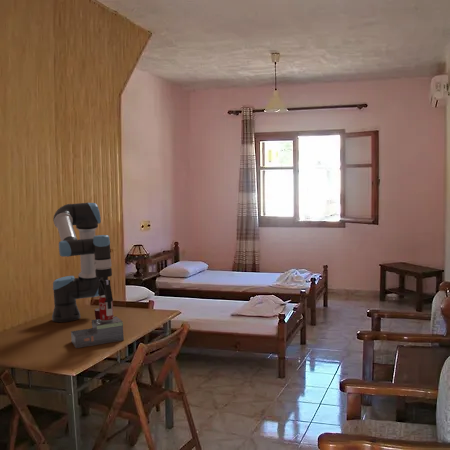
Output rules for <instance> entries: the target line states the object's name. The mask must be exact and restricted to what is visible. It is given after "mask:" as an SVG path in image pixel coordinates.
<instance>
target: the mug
mask: <svg viewBox="0 0 450 450" xmlns="http://www.w3.org/2000/svg"><path fill="white" fill-rule="evenodd" d="M94 316H95V317H94V319H100V311H99V307H98V308H95V309H94Z"/></svg>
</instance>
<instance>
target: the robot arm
mask: <svg viewBox="0 0 450 450" xmlns="http://www.w3.org/2000/svg"><path fill="white" fill-rule="evenodd" d="M52 221H53V224H54V227H56V228H57V232H58V234H59V238H60V241H58V252H59V257H67V258H68V257H73V256H75V257H77V256H79V257H80V259H79V260H80V272H79V273H78V277H75V275H66V276H62V277H59V278H57V279H55V280H53V283H52V291H53V302H54V303H53V305H54V308H53V311H52V317H51V320H52V322H55V323H69V322H73V321H77V320H79V319H81V312H80V310H79V308H78V305H77V300H81V299H88V298H97V297H99V298H100V296H101V295H105V298H106V300H105V302H106V315H107V316H111V315H113V316H114V311H113V312H112V301H113V302H114V298H113V293H112V292H113V291H112V287H111V280H110V279H109V278H110V277H112V275H113V269H112V268H111V267H113V266H112V258H111V256H112V255H111V241H110V235H108V234H98V235H97V234H96V230H97V229H98V227H99V224H101V222H102V220H101V213H100V209H99V206H98V204H97V203H96V202H80V203H79V202H78V203H66V204H64V205H62V206H60V207H59V208H58V209H57V210H56V211H55V212H54V215H53V220H52ZM74 226H75V228H76V229H77V230H78V232H79V233H78V235H79V239H78V237H77V234H76V231H75V229H74Z"/></svg>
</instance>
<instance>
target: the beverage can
mask: <svg viewBox="0 0 450 450" xmlns="http://www.w3.org/2000/svg"><path fill="white" fill-rule="evenodd" d="M99 297H100V298H99V299H98V308H99V311H100V320H101V321H102V322H109V321H112V320H113V318H114V317H115V316H114V314H113V315H111V316H107V315H106V302H105V300H106V298H105V295H101V296H99ZM113 302H114V300H113V301H112V312H113V313H114V306H113V305H114V304H113Z"/></svg>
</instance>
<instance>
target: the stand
mask: <svg viewBox="0 0 450 450" xmlns="http://www.w3.org/2000/svg"><path fill="white" fill-rule="evenodd" d="M70 335H71V336H70V339H71V343H72V344H73V346H74V347H75V349H80V348H86V347H92V346H97V345H103V344H104V345H105V344H110V343H116V342H121V341H123V342H124V340H125V337H124V322H123V320H122V319H120V318H119V317H118V316H114V318H113V320H112V321H109V322H102V321H101V320H100V319H96V318H94V319H91V328H86V329H78V330H72V331H70Z"/></svg>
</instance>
